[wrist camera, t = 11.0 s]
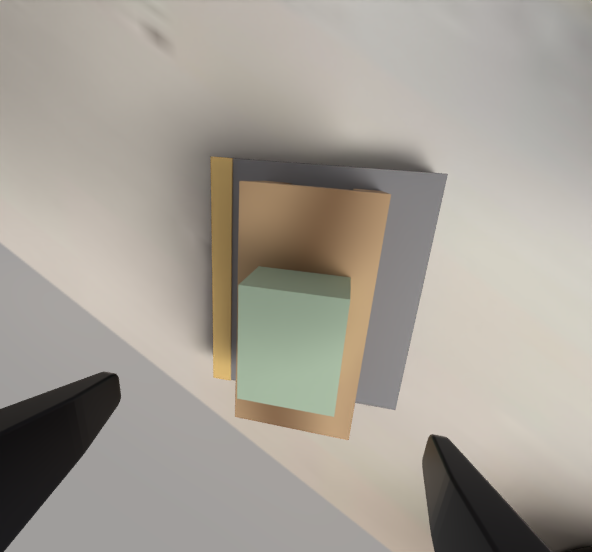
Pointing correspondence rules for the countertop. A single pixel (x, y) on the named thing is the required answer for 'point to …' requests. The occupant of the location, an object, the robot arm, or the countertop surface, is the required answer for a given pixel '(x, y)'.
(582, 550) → the supplement bottle
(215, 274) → the dock
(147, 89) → the countertop surface
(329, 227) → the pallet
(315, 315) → the pale green block
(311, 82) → the countertop surface
